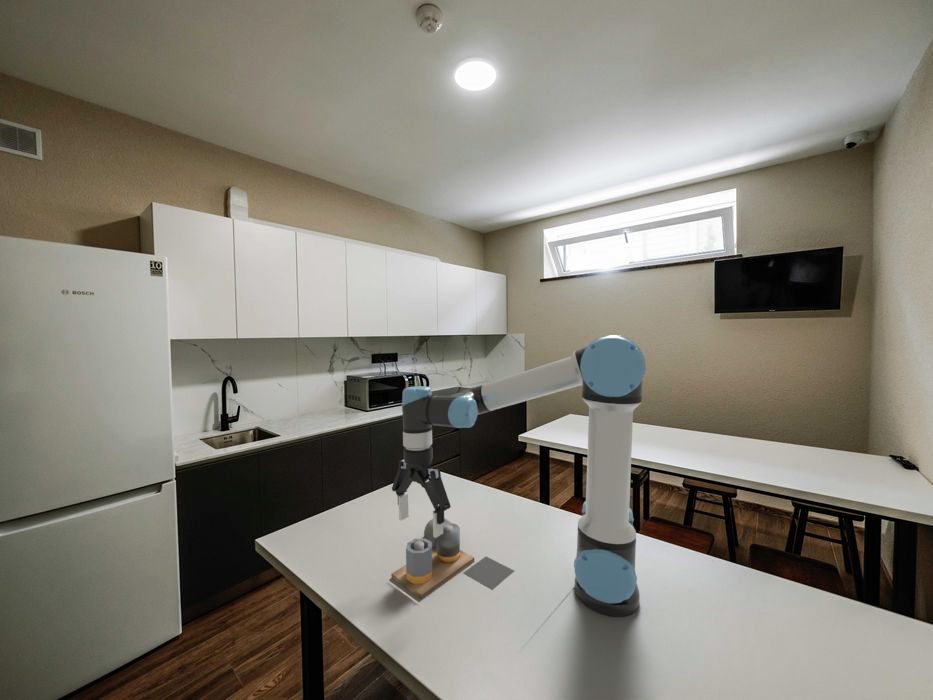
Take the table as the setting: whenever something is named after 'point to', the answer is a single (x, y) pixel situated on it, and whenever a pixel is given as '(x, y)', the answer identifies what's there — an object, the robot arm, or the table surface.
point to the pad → (488, 572)
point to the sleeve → (419, 562)
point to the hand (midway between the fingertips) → (420, 526)
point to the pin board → (438, 562)
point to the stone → (429, 532)
